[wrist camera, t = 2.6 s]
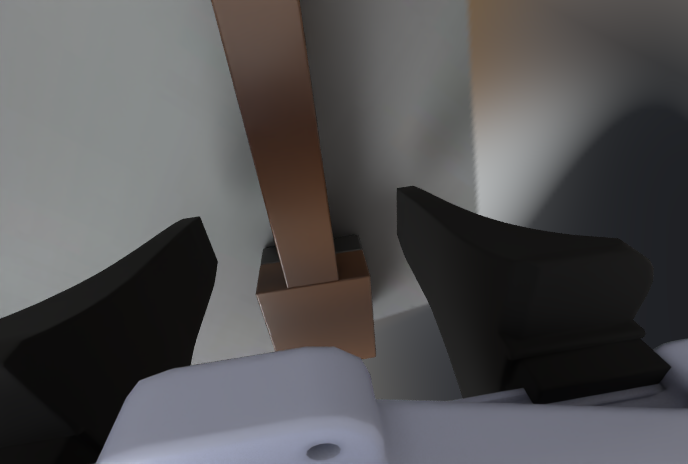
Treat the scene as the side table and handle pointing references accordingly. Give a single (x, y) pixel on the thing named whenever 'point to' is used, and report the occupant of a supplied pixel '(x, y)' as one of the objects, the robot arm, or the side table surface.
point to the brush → (294, 185)
